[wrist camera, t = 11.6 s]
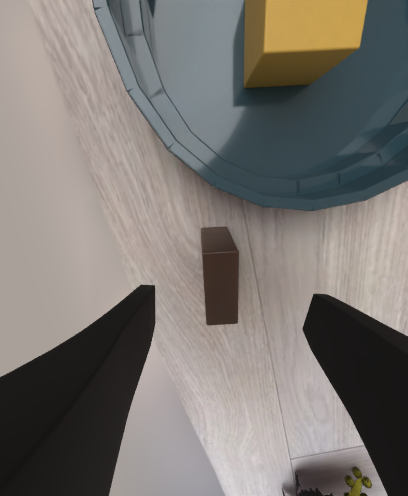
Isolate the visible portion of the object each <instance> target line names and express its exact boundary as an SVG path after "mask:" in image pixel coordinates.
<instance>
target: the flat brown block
mask: <svg viewBox="0 0 408 496" xmlns="http://www.w3.org/2000/svg"><path fill="white" fill-rule="evenodd" d="M201 239H202V258H203V275H204V291H205V308H206V324H207V325H223V324H237V323H238V276H239V251H238V249H237V247H236V245H235V243H234V241H233V239H232V237H231V235H230V233H229V231H228V229H227V227H212V228H201Z"/></svg>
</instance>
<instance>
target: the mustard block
mask: <svg viewBox="0 0 408 496" xmlns="http://www.w3.org/2000/svg"><path fill="white" fill-rule="evenodd" d="M367 3H368V0H245V37H244V88H255V87H273V86H292V85H310V84H312V83H313V82H314V81H316V80H317V79H318V78H320V77H321V76H322V75H324V74H325V73H326V72H328V71H329V70H330V69H332V68H333V67H334V66H336V65H337V64H338V63H340V62H341V61H343V60H344V59H345V58H347V57H348V56H349V55H351V54H352V53H353V52H355V51H356V50H357V49H359V47H360V43H361V37H362V31H363V26H364V20H365V14H366V8H367Z"/></svg>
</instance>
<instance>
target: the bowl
mask: <svg viewBox="0 0 408 496" xmlns="http://www.w3.org/2000/svg"><path fill="white" fill-rule="evenodd" d="M92 2H93V7H94V10H95V15H96V17H97V19H98V22H99V24H100V27H101V29H102V32H103V34H104V37H105V39H106V42H107V44H108V47H109V49H110V52H111V54H112V56H113V59H114V61H115V64H116V66H117V69H118V71H119V74H120V76H121V79H122V81H123V84H124V86H125V88H126V91H127V92H128V94H129V96H130V97H131V99H132V100H133V101H134V103H135V104H136V106H137V107H138V109H139V110H140V111H141V113H142V114H143V116H144V117H145V118H146V120H147V121H148V123H149V124H150V125H151V127H152V128H153V130H154V131H155V132H156V134H157V135H158V137H159V138H160V139H161V141H162V142H163V144H164V145H165V147H166V148H167V149H168V150H169V151H170V152H171V153H172V154H173V155H175V156H176V157H177V158H178V159H180V160H181V161H182V162H183V163H184V164H186V165H187V166H188V167H189V168H191V169H192V170H193V171H194V172H195V173H197V174H198V175H199V176H200V177H202V178H203V179H204V180H205V181H206V182H208V183H209V184H210V185H211V186H214V188H217V189H219V190H222V191H224V192H227V193H229V194H231V195H234V196H236V197H239V198H241V199H244V200H246V201H248V202H251V203H253V204H256V205H258V206H262V207H269V208H281V209H292V210H303V211H316V210H321V209H326V208H331V207H336V206H341V205H346V204H351V203H356V202H361V201H365V200H368V199H370V198H372V197H374V196H376V195H378V194H380V193H382V192H384V191H387V190H389V189H391V188H393V187H395V186H397V185H399V184H401V183H403V182H406V181H408V0H368V3H367V8H366V14H365V20H364V26H363V31H362V37H361V43H360V47H359V49H357V50H356V51H355V52H353V53H352V54H351V55H349V56H348V57H347V58H345V59H344V60H343V61H341V62H340V63H338V64H337V65H336V66H334V67H333V68H332V69H330V70H329V71H328V72H326V73H325V74H324V75H322V76H321V77H320V78H318V79H317V80H316V81H314V82H313V83H312V84H310V85H292V86H273V87H255V88H244V37H245V0H92Z"/></svg>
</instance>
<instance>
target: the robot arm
mask: <svg viewBox="0 0 408 496" xmlns="http://www.w3.org/2000/svg"><path fill="white" fill-rule="evenodd" d="M154 327H155V285H140V286H139V287H138V288H136V289H135V290H134V291H133V292H132V293H130V294H129V295H128V296H127V297H126V298H125V299H123V300H122V301H121V302H120V303H118V304H117V305H116V306H115V307H113V308H112V309H111V310H110V311H108V312H107V313H106V314H104V315H103V316H102V317H100V318H99V319H98V320H96V321H95V322H93V323H92V324H91V325H90V326H88V327H87V328H85V329H84V330H82V331H81V332H79V333H78V334H76V335H75V336H73V337H71V338H70V339H68V340H67V341H65V342H63V343H62V344H60V345H59V346H57V347H55V348H53V349H52V350H50V351H48V352H46V353H45V354H43V355H41V356H39V357H37V358H35V359H34V360H32V361H30V362H28V363H26V364H24V365H23V366H21V367H19V368H17V369H15V370H14V371H12V372H10V373H8V374H6V375H4V376H2V377H0V496H109V492H110V488H111V483H112V479H113V475H114V470H115V467H116V462H117V458H118V454H119V450H120V445H121V441H122V437H123V433H124V429H125V425H126V421H127V417H128V413H129V410H130V406H131V403H132V400H133V396H134V394H135V390H136V388H137V385H138V382H139V379H140V376H141V373H142V370H143V367H144V364H145V361H146V358H147V355H148V351H149V349H150V346H151V341H152V337H153V332H154ZM303 332H304V334H305V337H306V339H307V341H308V344H309V346H310V348H311V350H312V352H313V354H314V356H315V357H316V359H317V361H318V362H319V364H320V366H321V368H322V369H323V371H324V373H325V374H326V376H327V378H328V379H329V381H330V383H331V384H332V386H333V388H334V389H335V391H336V393H337V394H338V396H339V398H340V399H341V401H342V403H343V404H344V406H345V408H346V410H347V411H348V413H349V415H350V417H351V419H352V421H353V423H354V425H355V427H356V429H357V431H358V433H359V435H360V437H361V439H362V441H363V443H364V445H365V447H366V449H367V451H368V453H369V455H370V457H371V460H372V462H373V464H374V466H375V468H376V470H377V473H378V475H379V477H380V479H381V481H382V484H383V486H384V488H385V490H386V492H387V495H388V496H408V336H406V335H404V334H402V333H400V332H398V331H396V330H394V329H392V328H390V327H388V326H387V325H385V324H383V323H381V322H379V321H377V320H375V319H374V318H372V317H370V316H368V315H366V314H364V313H362V312H361V311H359V310H357V309H355V308H353V307H351V306H350V305H348V304H346V303H344V302H342V301H340V300H338V299H336V298H334V297H332V296H329V295H327V294H313V297H312V301H311V304H310V307H309V310H308V313H307V316H306V320H305V323H304V326H303Z"/></svg>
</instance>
